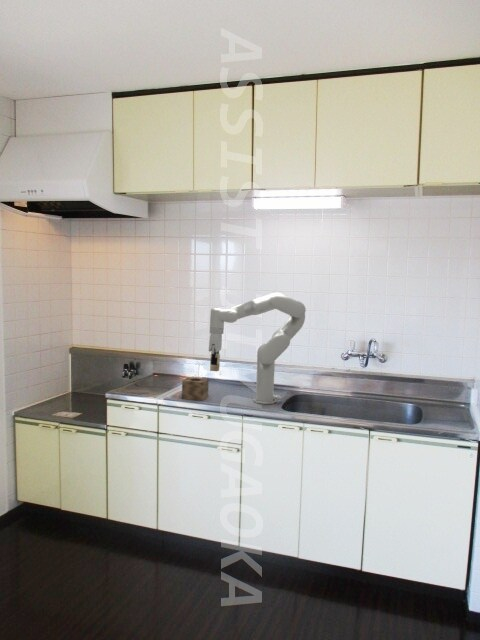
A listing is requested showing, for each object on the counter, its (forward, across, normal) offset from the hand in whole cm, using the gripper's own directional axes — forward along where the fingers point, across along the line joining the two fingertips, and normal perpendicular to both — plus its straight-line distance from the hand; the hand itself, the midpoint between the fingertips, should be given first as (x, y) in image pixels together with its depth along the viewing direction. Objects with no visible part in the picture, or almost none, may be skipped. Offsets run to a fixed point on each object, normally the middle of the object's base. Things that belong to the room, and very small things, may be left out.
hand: (214, 363), depth 282 cm
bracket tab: (+4, 0, 0) cm, 4 cm away
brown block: (+20, 0, -10) cm, 23 cm away
